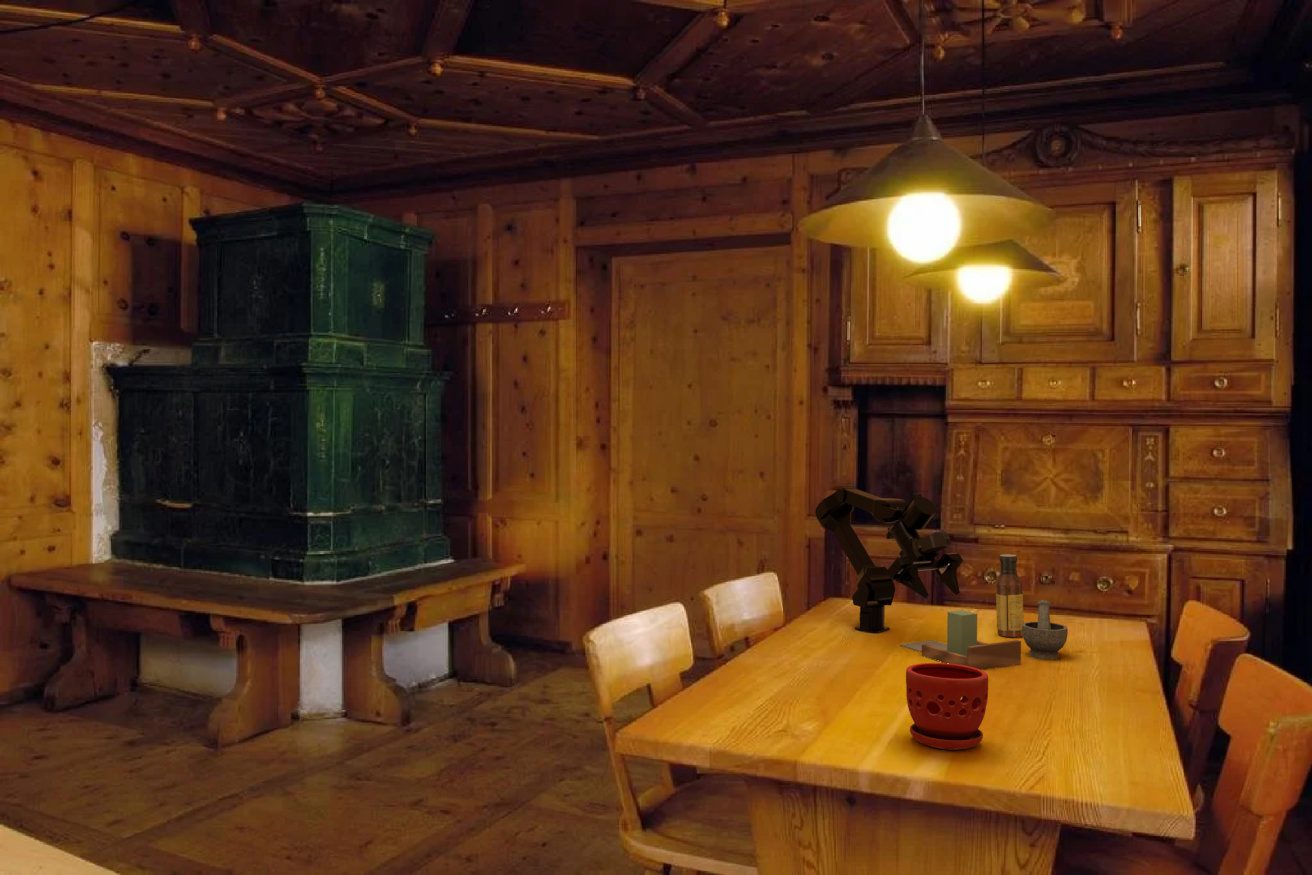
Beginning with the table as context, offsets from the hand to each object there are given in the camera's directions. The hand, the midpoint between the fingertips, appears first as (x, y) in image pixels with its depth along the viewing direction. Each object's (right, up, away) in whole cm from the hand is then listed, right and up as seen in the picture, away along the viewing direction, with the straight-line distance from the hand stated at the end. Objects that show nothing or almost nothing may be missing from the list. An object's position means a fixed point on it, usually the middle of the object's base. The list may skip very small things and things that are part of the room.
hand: (942, 595), depth 228 cm
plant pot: (-18, -14, -63) cm, 67 cm away
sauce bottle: (+21, -13, +17) cm, 30 cm away
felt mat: (-2, -13, +4) cm, 13 cm away
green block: (+3, -13, -5) cm, 14 cm away
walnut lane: (+4, -13, -7) cm, 15 cm away
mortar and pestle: (+22, -13, -3) cm, 26 cm away
